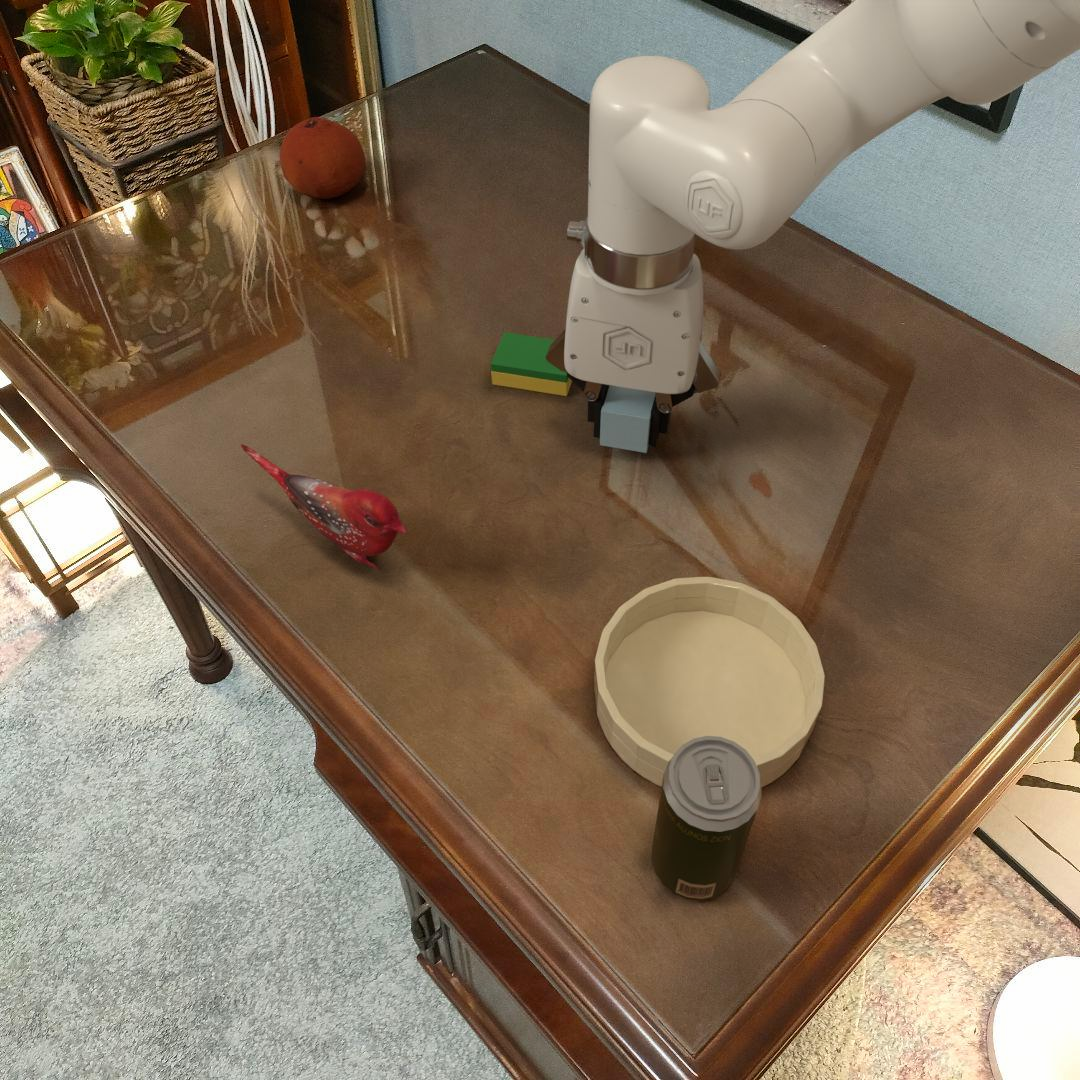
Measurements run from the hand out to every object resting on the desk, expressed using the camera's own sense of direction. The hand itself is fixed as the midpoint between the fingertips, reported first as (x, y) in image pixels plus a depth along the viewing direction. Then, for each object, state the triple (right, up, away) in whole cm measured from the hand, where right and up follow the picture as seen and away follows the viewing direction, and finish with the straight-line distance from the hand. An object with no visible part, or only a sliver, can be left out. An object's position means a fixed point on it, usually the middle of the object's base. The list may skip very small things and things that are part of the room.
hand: (628, 429), depth 86 cm
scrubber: (-8, +6, +7) cm, 12 cm away
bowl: (+4, -20, -14) cm, 25 cm away
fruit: (-31, +29, +27) cm, 51 cm away
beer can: (+2, -30, -22) cm, 37 cm away
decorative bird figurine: (-24, -10, -5) cm, 26 cm away
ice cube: (0, 0, 0) cm, 0 cm away
